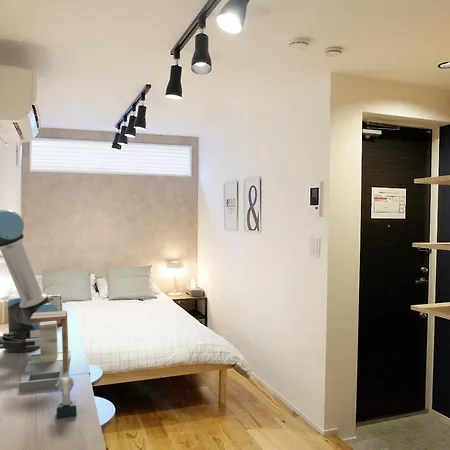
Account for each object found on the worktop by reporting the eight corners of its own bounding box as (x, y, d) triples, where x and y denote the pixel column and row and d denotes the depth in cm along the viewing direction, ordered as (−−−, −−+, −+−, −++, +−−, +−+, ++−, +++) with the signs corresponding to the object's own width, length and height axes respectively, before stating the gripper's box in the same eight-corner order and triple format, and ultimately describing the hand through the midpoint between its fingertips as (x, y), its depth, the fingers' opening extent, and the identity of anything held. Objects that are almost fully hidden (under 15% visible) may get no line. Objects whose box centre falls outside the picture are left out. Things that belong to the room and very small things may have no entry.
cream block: (41, 356, 188) (40, 321, 188) (57, 355, 190) (56, 320, 189) (40, 360, 183) (39, 324, 183) (57, 358, 185) (55, 323, 184)
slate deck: (31, 362, 192) (31, 354, 192) (70, 358, 196) (70, 350, 196) (20, 391, 160) (19, 382, 160) (66, 386, 164) (66, 377, 164)
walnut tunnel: (35, 365, 178) (33, 312, 177) (68, 362, 181) (67, 310, 181) (32, 374, 168) (30, 318, 168) (67, 370, 172) (65, 316, 171)
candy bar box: (62, 323, 257) (62, 293, 256) (62, 325, 252) (61, 295, 252) (41, 325, 254) (40, 295, 253) (40, 327, 249) (39, 296, 249)
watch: (75, 407, 146) (74, 372, 146) (76, 418, 139) (75, 381, 138) (56, 410, 144) (55, 374, 144) (56, 421, 137) (55, 384, 136)
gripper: (-7, 343, 192) (48, 338, 198) (-21, 361, 168) (43, 355, 174) (-8, 324, 192) (48, 320, 198) (-21, 341, 168) (42, 335, 174)
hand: (46, 337), depth 186 cm, fingers open, 13 cm apart
